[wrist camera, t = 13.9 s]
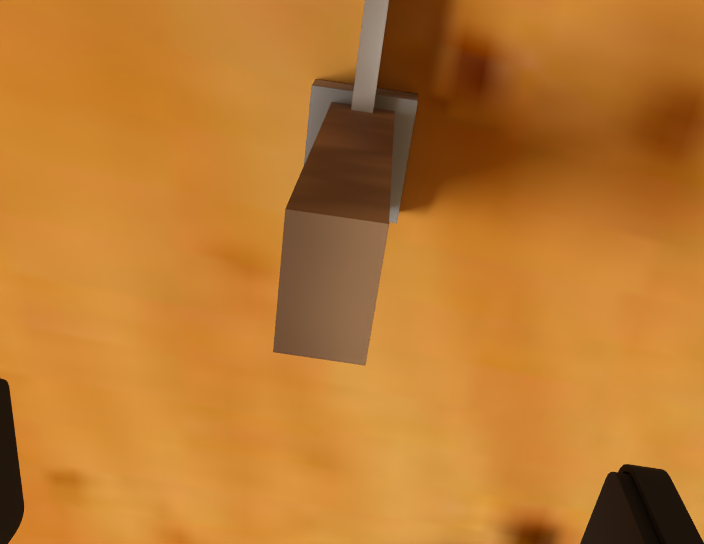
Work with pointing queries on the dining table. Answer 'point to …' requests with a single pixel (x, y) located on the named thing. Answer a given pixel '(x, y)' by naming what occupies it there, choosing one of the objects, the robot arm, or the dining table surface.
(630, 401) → the dining table surface
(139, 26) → the dining table surface
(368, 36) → the scraper
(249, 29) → the dining table surface
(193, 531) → the dining table surface
